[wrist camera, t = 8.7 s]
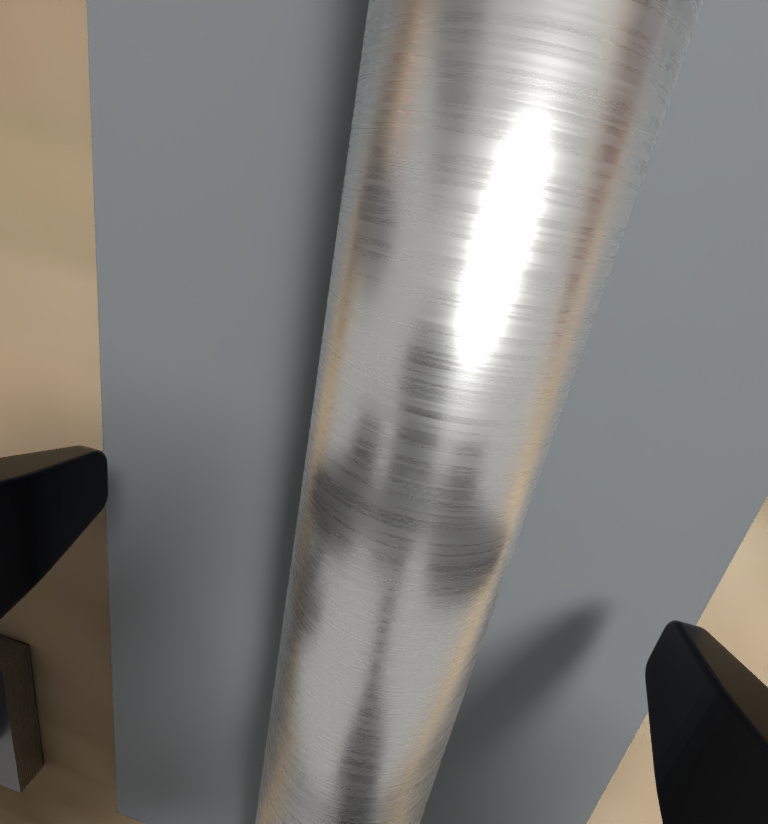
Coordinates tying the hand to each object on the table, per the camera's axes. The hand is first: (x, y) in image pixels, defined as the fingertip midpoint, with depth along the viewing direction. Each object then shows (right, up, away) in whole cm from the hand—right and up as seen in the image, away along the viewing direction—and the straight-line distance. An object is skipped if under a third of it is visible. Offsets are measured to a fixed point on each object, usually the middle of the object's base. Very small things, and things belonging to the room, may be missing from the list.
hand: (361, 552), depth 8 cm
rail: (0, 0, 0) cm, 1 cm away
